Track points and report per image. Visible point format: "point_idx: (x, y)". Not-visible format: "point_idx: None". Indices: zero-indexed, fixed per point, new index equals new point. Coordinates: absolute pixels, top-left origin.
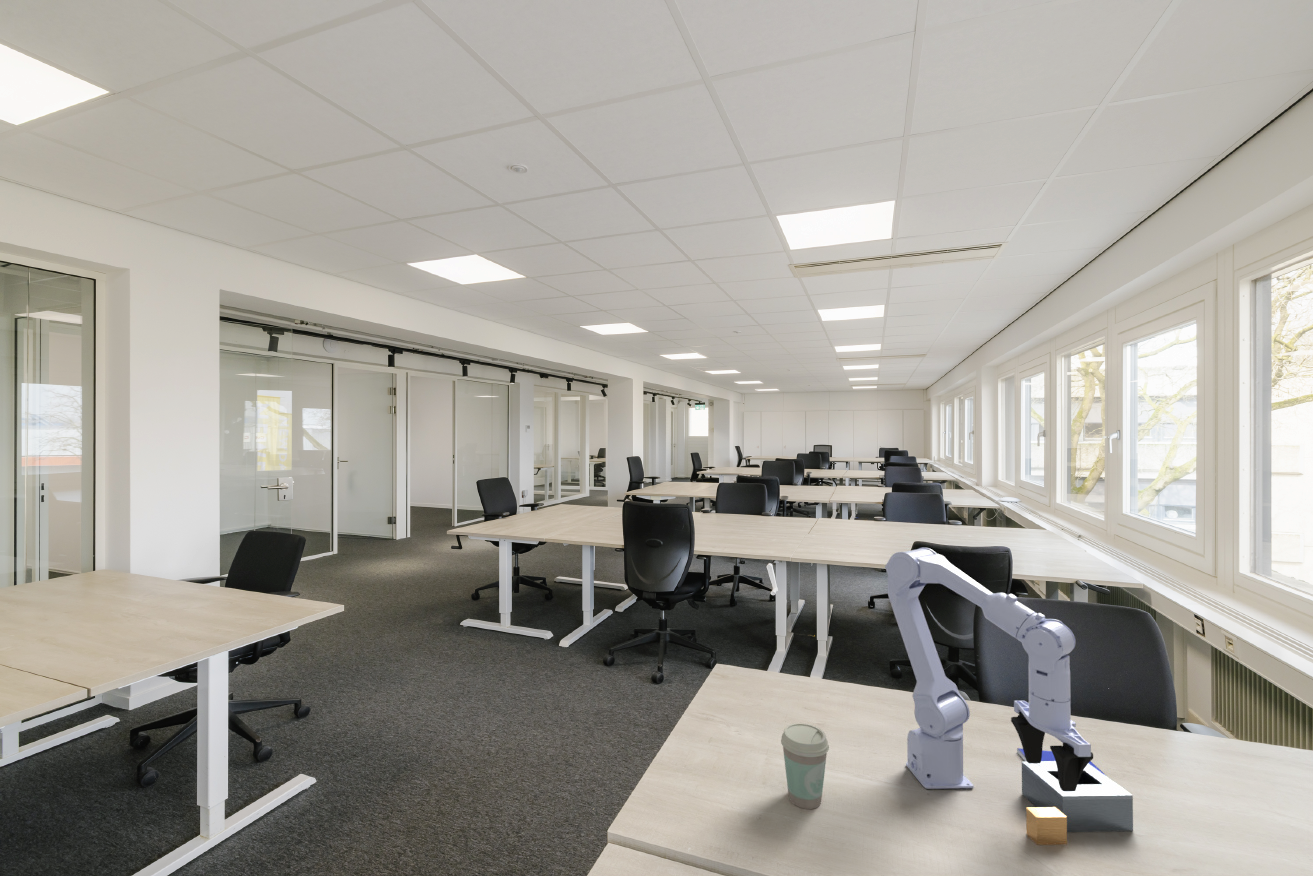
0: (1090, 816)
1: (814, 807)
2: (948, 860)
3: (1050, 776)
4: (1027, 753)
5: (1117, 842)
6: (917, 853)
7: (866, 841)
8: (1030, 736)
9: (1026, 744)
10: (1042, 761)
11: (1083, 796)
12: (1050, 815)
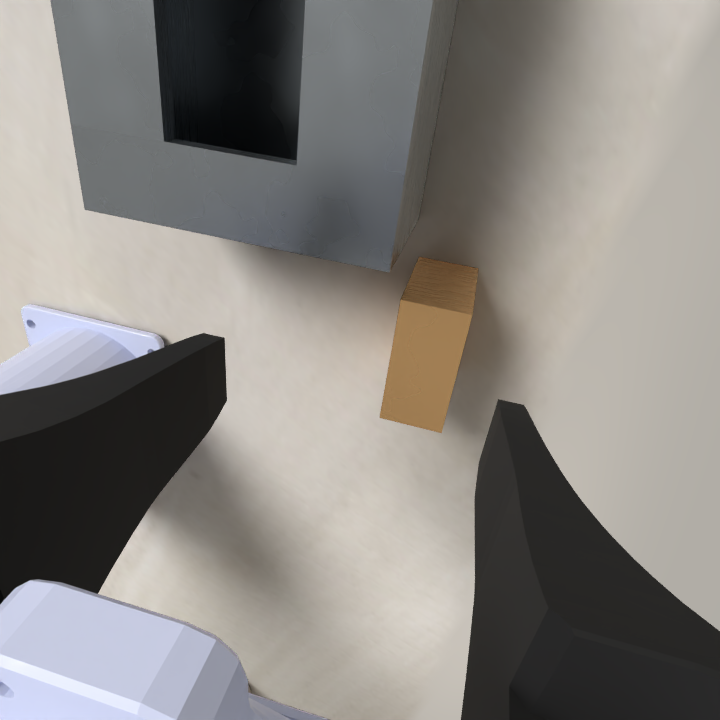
0: (434, 86)
1: (249, 689)
2: (442, 606)
3: (215, 168)
4: (194, 447)
5: (537, 7)
6: (406, 636)
7: (353, 678)
8: (112, 511)
9: (154, 486)
10: (65, 71)
11: (410, 143)
12: (445, 374)
